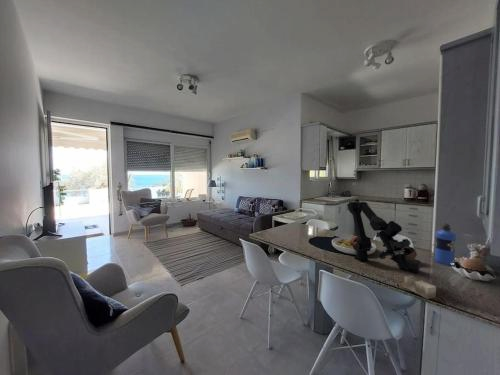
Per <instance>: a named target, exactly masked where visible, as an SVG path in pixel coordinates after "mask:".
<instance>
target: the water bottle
mask: <svg viewBox="0 0 500 375" xmlns="http://www.w3.org/2000/svg"><path fill="white" fill-rule="evenodd" d="M440 228H441V229H440V230H436V231H435V241H436V244H435V248H434V249H435V250H434V251H435V252H434V253H435V254H434V261H435V262H436V263H437V264H440V265H446V266H451V265H450V263H451V262H452V261H453V260H454V259H455V257H456V249H455V244H456V240H457V234H456V233H455V232H453V231H451V225H450V224H449V223H446V222H445V223H443V224H442V225H441V227H440Z"/></svg>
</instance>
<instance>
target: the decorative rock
mask: <svg viewBox="0 0 500 375" xmlns="http://www.w3.org/2000/svg"><path fill="white" fill-rule="evenodd" d="M404 248H405V247H404ZM404 248H403V249H404ZM412 248H413V249H414V250H415V252H413V253H411V254H409V255H407V256H406V257H407V258H408V259H411V260H414V259H416V257H417V255H418V253H417V250H416V249H415V248H414V247H412ZM401 250H402V249H401ZM398 253H399V252H398Z"/></svg>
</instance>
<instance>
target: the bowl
mask: <svg viewBox="0 0 500 375" xmlns="http://www.w3.org/2000/svg"><path fill="white" fill-rule="evenodd" d="M356 239H357V235H354V236H353V237H345V236H344V237H343V236H342V237H335V238H333V239H332V240H331V245H332V247H334V249H336V250H337V251H339V252H341V253H344V254H347V255H353V256H356V250H354V248H353V246H354V245H355V244H356ZM371 243H372V244H371V245H372V246H371V249H370V251H367V254H368V256H369V255H372V254H374V253H375V252H376V250H377V245H376V243H374V242H372V241H371Z"/></svg>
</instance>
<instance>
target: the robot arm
mask: <svg viewBox="0 0 500 375" xmlns="http://www.w3.org/2000/svg"><path fill="white" fill-rule="evenodd" d="M347 208H348V211H349V213H350V214H351V215H352V218H353V222H354V225H355V226H354V227H355V230H356V236H357V239H356V244H355V245H354V246H353V248H354V250H356V255H355V256H354V257H353V258H354V259H355V260H357V261H359V262H369V261H370V259H368V256H369V255H368V254H367V251H370V249H371V246H372V245H371V244H372V243H373V242H372V241H371V237H368V236H367V235H366V230H365V226H364V221H363V218H362V215H361V214H362V213H363V214H364V215H365V217H366V218H367V219H368V221H369V225H370V227H371V229H372V230H373V231H376V235H375V237H376V238H379V239H380V240H381V242H382V246H383V247H384V248H386V249H384V250H382V251H381V252H379V253H378V257H379V259H380V260H385V259H386V257H389V256H390V258H389V260H391V261H392V262H395V263H396V264H397V263H398V264H399V265H400V266H402V267H403V268H405V269H404V270H406V269H408V265H407V261H406V256H407V255H409V254H411V253H413V252H415V251H416V249H415V248H414V247H412V246H410V245H411V241H410V240H409V239H408V238H405V239H403V238H402V240H401V241H399V240H398V239H394V237H396V236H397V235H398V234H400V233H401V232H402V230H403V229H402V228H403V227H402V226H401V225H400V224H398V223H396V222H395V221H394V220H391V221H389V222H387V221H385V219H383V218H382V217H379V216H378V215H377V214H376V213H375V211H373V209H372V208H371V207H370V205H368V202H367V201H350V202H348V204H347ZM378 231H379V232H378ZM371 242H372V243H371ZM404 247H405V248H404ZM403 248H404V249H403ZM413 248H414V249H415V250H414V249H413ZM401 249H402V250H401ZM398 252H399V253H398Z"/></svg>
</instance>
